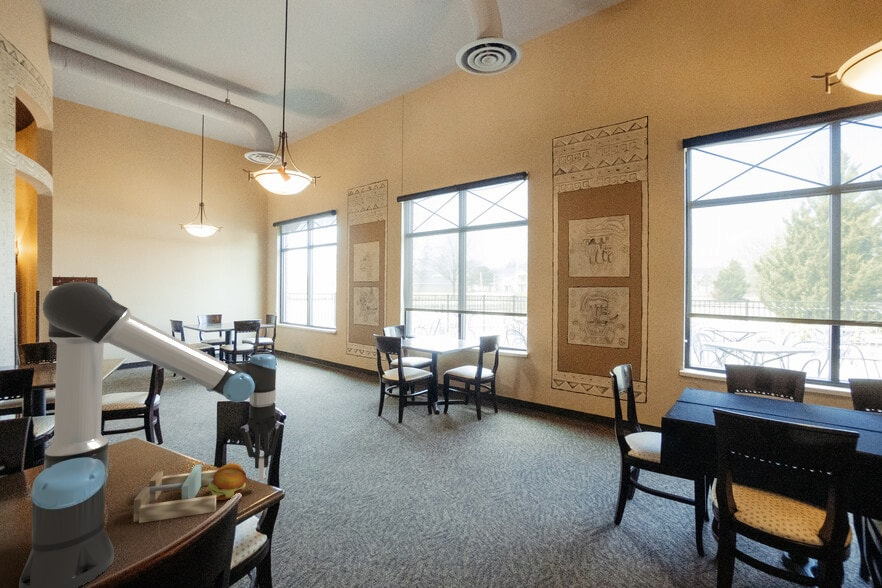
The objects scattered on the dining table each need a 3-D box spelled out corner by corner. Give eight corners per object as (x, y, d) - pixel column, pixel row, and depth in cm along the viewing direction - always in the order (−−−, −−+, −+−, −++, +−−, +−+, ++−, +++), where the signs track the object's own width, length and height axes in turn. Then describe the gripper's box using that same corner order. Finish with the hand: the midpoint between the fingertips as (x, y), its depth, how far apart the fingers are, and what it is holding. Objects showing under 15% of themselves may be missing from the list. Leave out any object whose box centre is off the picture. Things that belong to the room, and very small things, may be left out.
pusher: (201, 485, 124) (201, 464, 124) (188, 510, 111) (188, 485, 111) (149, 492, 120) (150, 470, 120) (129, 518, 106) (129, 493, 106)
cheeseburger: (234, 481, 128) (239, 453, 127) (251, 499, 122) (256, 470, 121) (201, 493, 120) (206, 464, 119) (217, 513, 114) (222, 482, 113)
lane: (227, 480, 129) (228, 462, 129) (214, 511, 111) (215, 490, 111) (157, 489, 123) (158, 470, 123) (132, 524, 104) (132, 501, 104)
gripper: (285, 398, 129) (284, 469, 129) (241, 401, 125) (240, 475, 125) (284, 405, 122) (282, 480, 122) (237, 408, 118) (236, 486, 118)
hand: (261, 477), depth 123 cm, fingers closed
